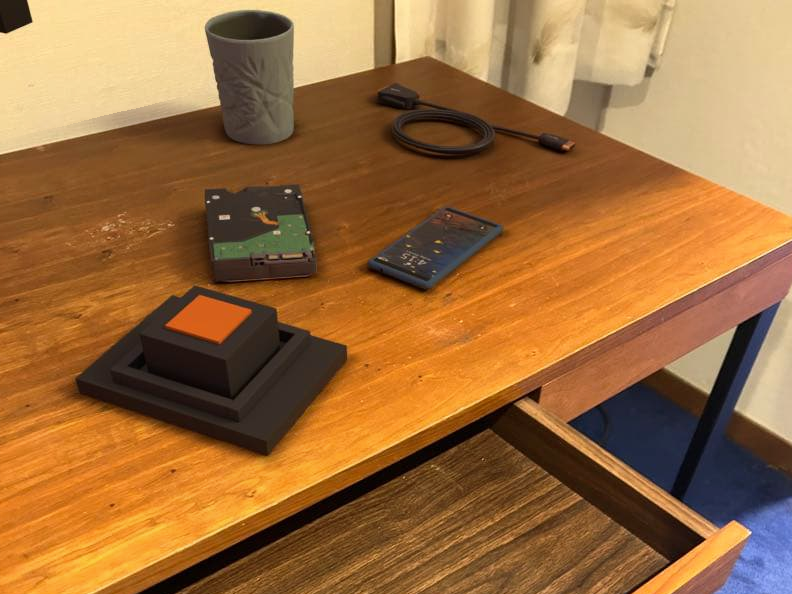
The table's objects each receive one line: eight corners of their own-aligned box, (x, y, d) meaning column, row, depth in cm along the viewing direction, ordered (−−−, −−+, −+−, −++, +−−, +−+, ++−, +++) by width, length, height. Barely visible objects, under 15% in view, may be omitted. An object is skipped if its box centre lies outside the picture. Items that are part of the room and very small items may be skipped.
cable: (520, 189, 99) (521, 176, 98) (329, 124, 109) (328, 112, 108) (574, 149, 106) (577, 137, 105) (391, 92, 117) (391, 81, 116)
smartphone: (505, 225, 91) (428, 285, 82) (504, 232, 92) (428, 293, 83) (445, 204, 94) (364, 260, 85) (444, 211, 94) (364, 268, 86)
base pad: (79, 392, 71) (70, 366, 69) (174, 308, 80) (169, 283, 78) (268, 455, 67) (265, 429, 65) (347, 359, 76) (346, 333, 74)
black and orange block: (148, 374, 71) (137, 330, 68) (201, 325, 76) (194, 281, 73) (231, 401, 69) (225, 356, 66) (280, 348, 74) (276, 305, 71)
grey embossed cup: (301, 115, 111) (295, 10, 102) (297, 149, 104) (291, 40, 95) (222, 113, 110) (209, 8, 101) (213, 147, 103) (199, 38, 94)
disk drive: (205, 214, 93) (213, 285, 83) (202, 188, 91) (209, 259, 81) (301, 207, 94) (320, 277, 84) (299, 182, 92) (318, 250, 82)
